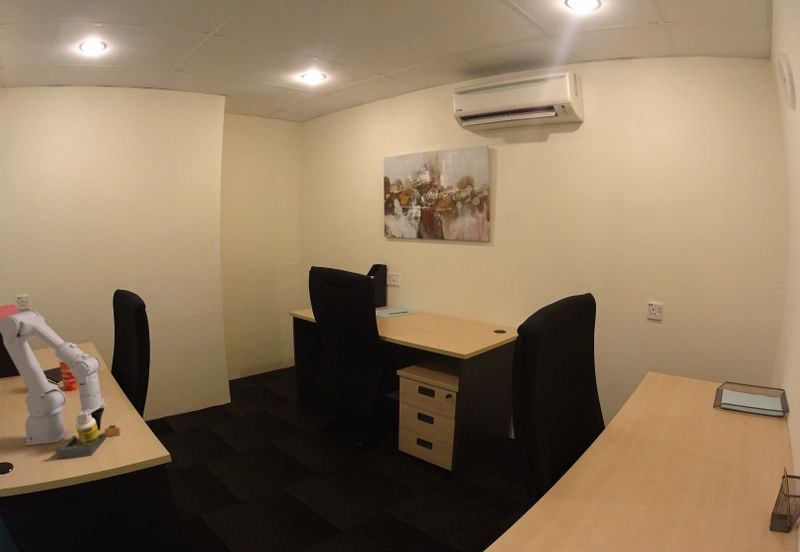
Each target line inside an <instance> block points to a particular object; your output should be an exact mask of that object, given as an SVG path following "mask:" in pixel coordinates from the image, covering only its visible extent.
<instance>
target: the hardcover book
mask: <svg viewBox="0 0 800 552" xmlns="http://www.w3.org/2000/svg"><path fill="white" fill-rule="evenodd" d="M42 371H43V373H44V375H45V376H46V378H47V379H50V380H52V381H54V382H56V383H61V382H63V380H62V374H61V368H60V366H57V367H53V368H50V369H46V370H42ZM56 383H55V384H56Z"/></svg>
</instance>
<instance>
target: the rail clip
mask: <svg viewBox="0 0 800 552" xmlns="http://www.w3.org/2000/svg"><path fill="white" fill-rule="evenodd" d="M99 435H100V436H99V437H98V438H97V439H96V440H95V441H94V442H93V443H92V444H89V445H76V443H77V442H78V439H77V435H72V436H71V437H70V439H69V440H67V441H66V443H64V444H63V445H62V446H61V447H58V448H57V449H56V450H55V453H56V460H63V459H64V460H65V459H72V458H73V459H74V458H81V457H90V456H92V455H93V454H94V453H95V452H96V451H97V450H98V448H99V447H100V446H101V445H102V444H103V443H104V441H105V440H106V437H105V432H101V433H99ZM75 445H76V446H75Z"/></svg>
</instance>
